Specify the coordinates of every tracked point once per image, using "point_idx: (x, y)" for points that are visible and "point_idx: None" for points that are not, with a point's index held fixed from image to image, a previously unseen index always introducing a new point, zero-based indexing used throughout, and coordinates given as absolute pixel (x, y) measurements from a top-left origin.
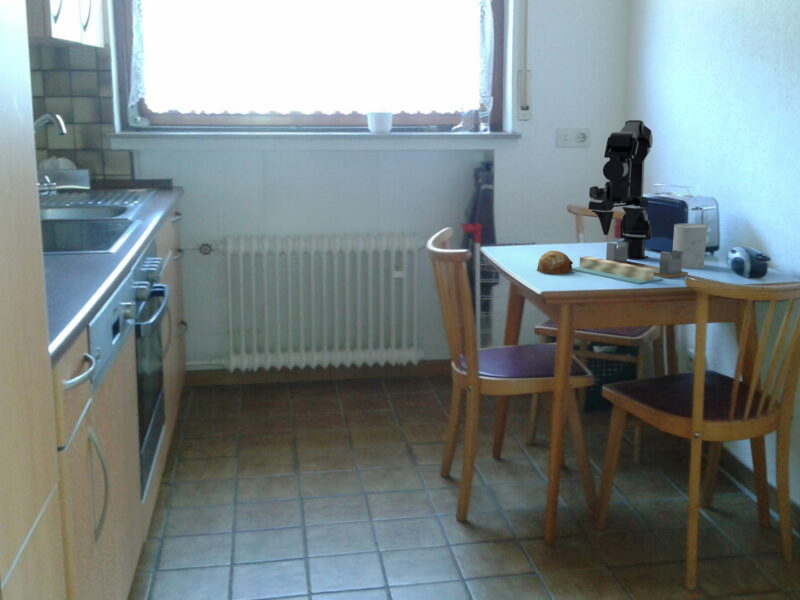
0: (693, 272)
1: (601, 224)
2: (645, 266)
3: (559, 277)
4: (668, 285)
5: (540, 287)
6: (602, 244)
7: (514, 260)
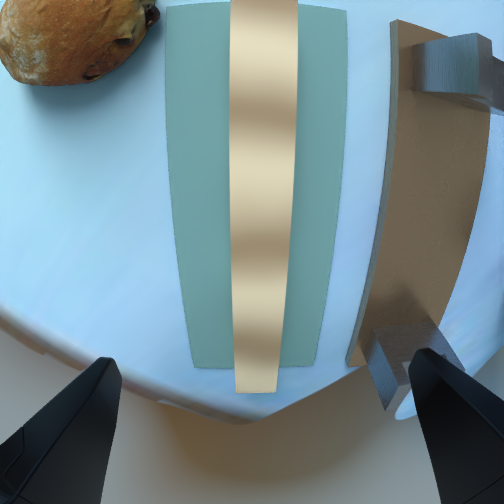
0: (470, 322)
1: (35, 423)
2: (446, 226)
3: (24, 142)
4: (258, 400)
5: None
6: None
7: None
